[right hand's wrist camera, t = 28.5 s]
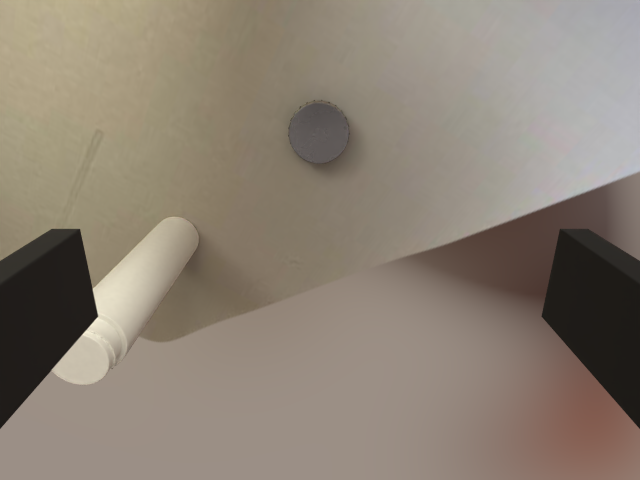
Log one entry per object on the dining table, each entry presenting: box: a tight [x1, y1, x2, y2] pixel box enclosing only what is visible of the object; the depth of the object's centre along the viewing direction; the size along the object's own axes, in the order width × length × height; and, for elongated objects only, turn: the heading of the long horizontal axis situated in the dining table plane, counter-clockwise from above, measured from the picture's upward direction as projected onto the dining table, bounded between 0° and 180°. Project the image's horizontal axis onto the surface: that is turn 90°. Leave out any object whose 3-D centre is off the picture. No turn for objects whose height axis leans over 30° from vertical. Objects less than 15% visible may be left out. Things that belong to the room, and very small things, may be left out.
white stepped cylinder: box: [51, 217, 199, 385], centre depth 36 cm, size 4×4×20 cm
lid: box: [289, 100, 349, 163], centre depth 40 cm, size 5×5×2 cm
